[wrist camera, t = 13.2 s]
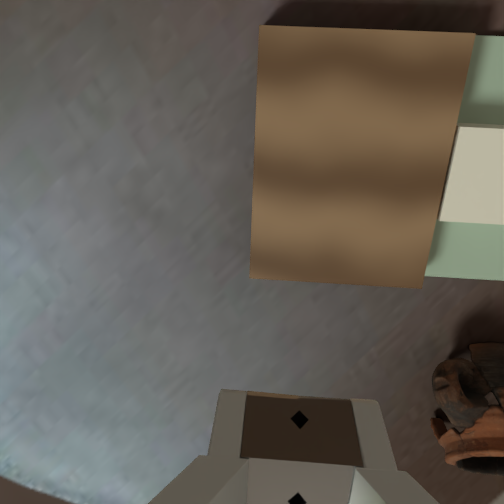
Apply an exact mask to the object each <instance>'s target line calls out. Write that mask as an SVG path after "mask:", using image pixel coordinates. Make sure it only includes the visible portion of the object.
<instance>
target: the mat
mask: <svg viewBox="0 0 504 504" xmlns="http://www.w3.org/2000/svg"><path fill="white" fill-rule="evenodd" d="M457 123H476V124H496V125H504V36H482V35H476V36H475V40H474V45H473V50H472V54H471V59H470V64H469V69H468V73H467V78H466V83H465V87H464V92H463V97H462V102H461V106H460V111H459V116H458V120H457ZM425 276H435V277H452V278H469V279H486V280H503V281H504V225H498V224H481V223H464V222H446V221H439V220H438V219H436V224H435V229H434V233H433V238H432V243H431V247H430V252H429V257H428V261H427V266H426V271H425Z"/></svg>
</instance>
